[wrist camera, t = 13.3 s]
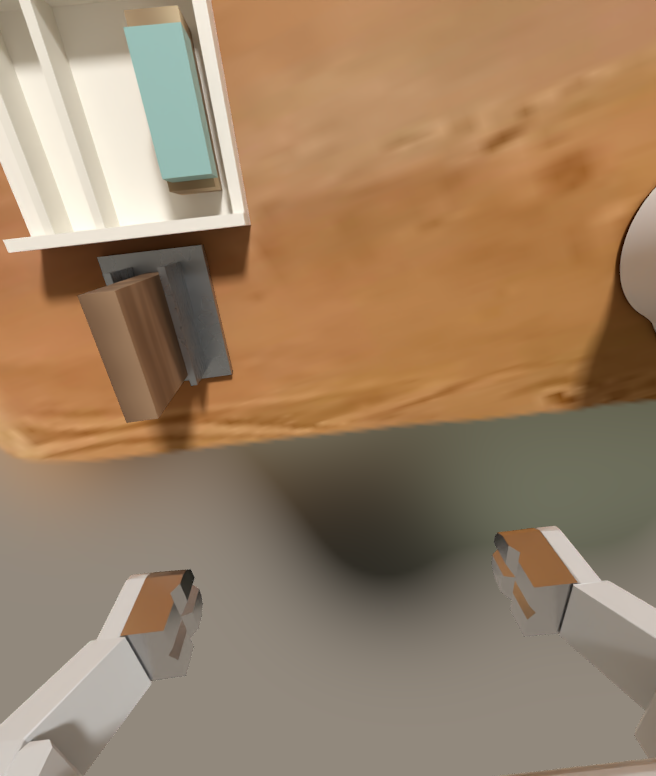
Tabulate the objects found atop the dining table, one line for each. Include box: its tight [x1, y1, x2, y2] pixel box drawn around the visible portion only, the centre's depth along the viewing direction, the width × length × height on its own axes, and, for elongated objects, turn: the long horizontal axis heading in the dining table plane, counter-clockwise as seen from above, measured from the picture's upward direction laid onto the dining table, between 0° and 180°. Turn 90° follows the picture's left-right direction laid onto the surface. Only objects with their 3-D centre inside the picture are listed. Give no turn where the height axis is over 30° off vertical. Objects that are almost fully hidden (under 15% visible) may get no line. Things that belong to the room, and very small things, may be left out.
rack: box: [0, 0, 251, 253], centre depth 24 cm, size 16×14×4 cm
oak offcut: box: [124, 5, 223, 195], centre depth 24 cm, size 3×9×3 cm, turn 6°
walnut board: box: [77, 272, 188, 423], centre depth 26 cm, size 2×8×10 cm, turn 6°
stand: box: [97, 245, 233, 386], centre depth 29 cm, size 8×11×5 cm
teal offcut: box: [123, 22, 218, 183], centre depth 22 cm, size 3×7×2 cm, turn 6°
